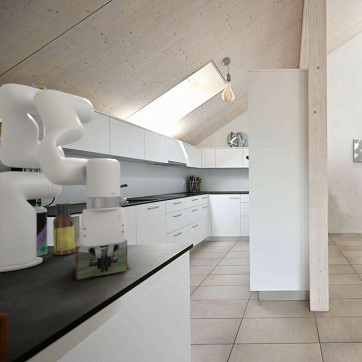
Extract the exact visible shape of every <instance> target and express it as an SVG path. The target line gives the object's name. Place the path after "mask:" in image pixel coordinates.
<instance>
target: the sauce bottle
mask: <svg viewBox="0 0 362 362" xmlns="http://www.w3.org/2000/svg"><path fill="white" fill-rule="evenodd" d="M70 205H71V204H70V202H58V203H55V208H56V216H55V218H54V219H53V222H52V225H53V228H52V235H53V251H54V255H55V256H65V255H70V254H73V253H75V252H76V235H75V222H74V220H73V217H72V215H71V213H70V207H71V206H70Z"/></svg>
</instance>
